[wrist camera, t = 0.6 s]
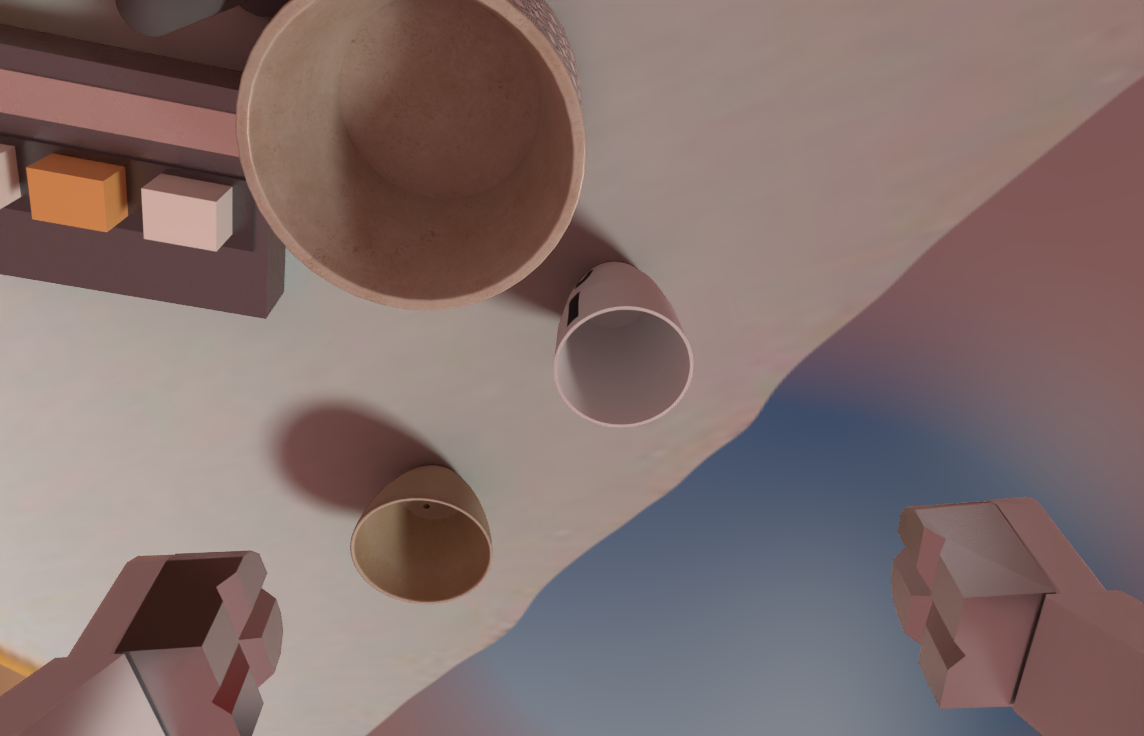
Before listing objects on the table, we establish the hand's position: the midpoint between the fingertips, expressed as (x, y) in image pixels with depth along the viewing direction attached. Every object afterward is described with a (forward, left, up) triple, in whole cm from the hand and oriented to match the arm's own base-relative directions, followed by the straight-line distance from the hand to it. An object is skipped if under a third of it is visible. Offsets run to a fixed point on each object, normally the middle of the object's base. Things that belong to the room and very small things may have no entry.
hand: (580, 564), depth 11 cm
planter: (+5, -6, -45) cm, 45 cm away
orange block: (+13, -25, -40) cm, 49 cm away
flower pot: (+35, -3, -45) cm, 57 cm away
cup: (+16, +7, -45) cm, 48 cm away
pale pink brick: (+13, -19, -40) cm, 46 cm away
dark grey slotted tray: (+13, -25, -44) cm, 53 cm away
